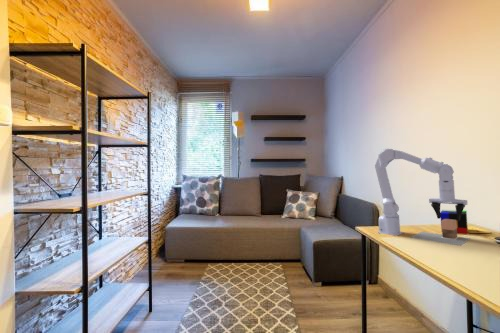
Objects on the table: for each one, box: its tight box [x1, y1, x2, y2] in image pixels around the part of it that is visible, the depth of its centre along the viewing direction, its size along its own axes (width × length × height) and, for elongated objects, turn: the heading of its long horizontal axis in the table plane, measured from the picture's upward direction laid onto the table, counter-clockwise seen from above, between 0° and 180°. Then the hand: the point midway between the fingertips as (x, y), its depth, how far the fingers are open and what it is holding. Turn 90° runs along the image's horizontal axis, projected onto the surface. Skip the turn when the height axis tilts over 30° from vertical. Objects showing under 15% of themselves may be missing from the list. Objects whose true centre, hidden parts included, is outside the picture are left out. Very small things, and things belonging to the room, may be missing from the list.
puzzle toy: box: [440, 209, 469, 235], centre depth 135 cm, size 10×10×10 cm
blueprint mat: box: [409, 231, 471, 247], centre depth 125 cm, size 20×14×1 cm
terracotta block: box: [440, 219, 457, 230], centre depth 125 cm, size 4×4×4 cm
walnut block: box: [441, 229, 458, 239], centre depth 125 cm, size 4×4×4 cm
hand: (448, 219), depth 125 cm, fingers open, 7 cm apart
